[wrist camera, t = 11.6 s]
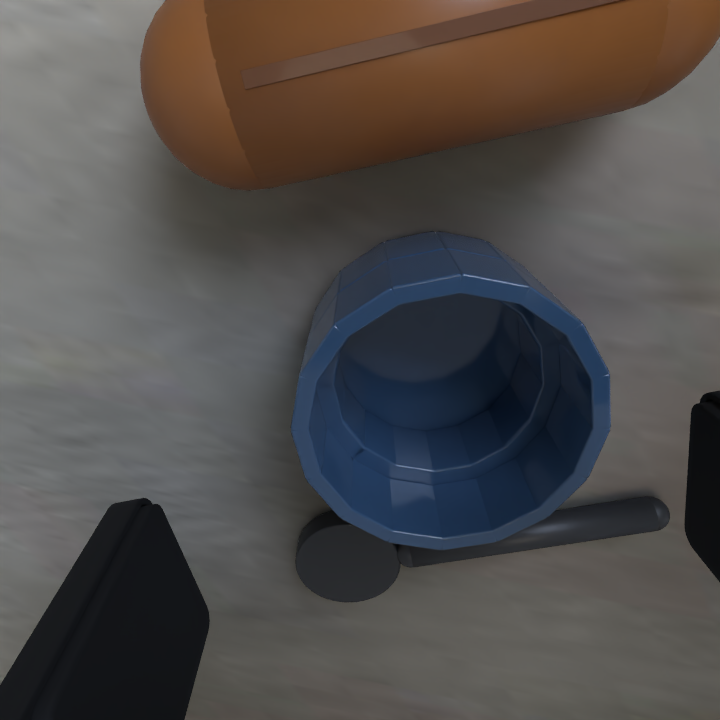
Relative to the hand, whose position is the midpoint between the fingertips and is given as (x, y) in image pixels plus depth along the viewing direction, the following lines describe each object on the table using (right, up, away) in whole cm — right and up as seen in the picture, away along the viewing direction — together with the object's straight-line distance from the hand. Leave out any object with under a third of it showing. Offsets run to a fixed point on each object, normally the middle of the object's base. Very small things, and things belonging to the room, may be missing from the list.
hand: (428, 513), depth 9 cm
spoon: (+3, -3, +9) cm, 10 cm away
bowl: (+1, +3, +6) cm, 7 cm away
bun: (0, +10, +3) cm, 10 cm away
